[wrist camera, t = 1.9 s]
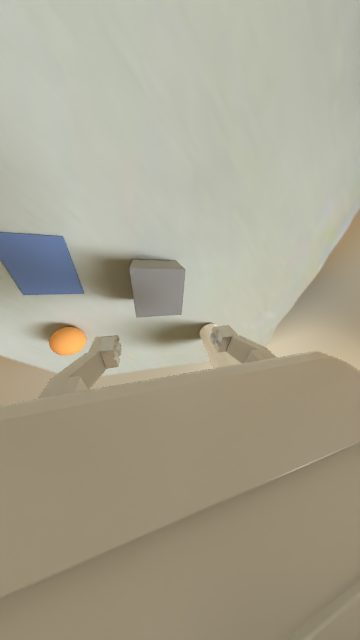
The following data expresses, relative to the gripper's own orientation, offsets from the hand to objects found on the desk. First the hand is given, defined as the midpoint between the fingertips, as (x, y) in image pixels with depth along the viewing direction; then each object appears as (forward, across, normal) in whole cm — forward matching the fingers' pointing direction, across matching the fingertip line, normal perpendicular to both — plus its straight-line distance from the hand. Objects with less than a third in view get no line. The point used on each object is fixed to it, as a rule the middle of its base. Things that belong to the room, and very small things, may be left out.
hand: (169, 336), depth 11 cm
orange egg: (+12, +16, +10) cm, 23 cm away
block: (+15, 0, 0) cm, 15 cm away
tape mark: (+15, +16, -2) cm, 22 cm away
